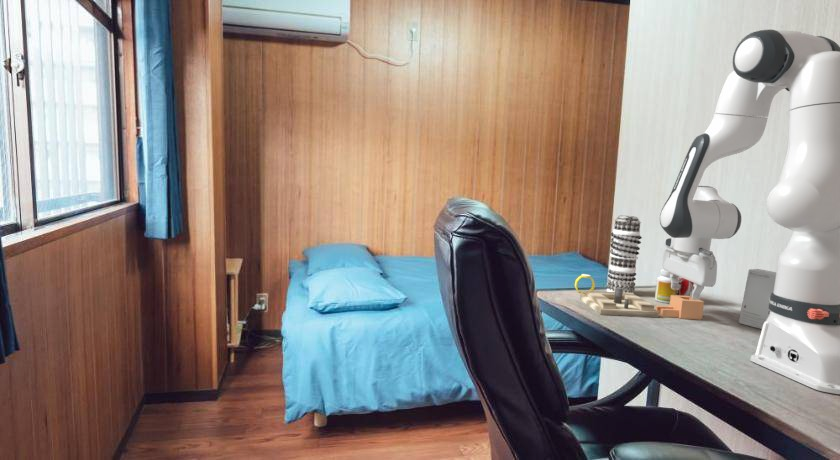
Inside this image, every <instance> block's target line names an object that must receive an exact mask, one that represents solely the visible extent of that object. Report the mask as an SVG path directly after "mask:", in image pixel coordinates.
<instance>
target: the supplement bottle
mask: <svg viewBox="0 0 840 460" xmlns="http://www.w3.org/2000/svg"><path fill="white" fill-rule="evenodd" d="M659 274H660V275H659V276H657V278H656V285H655V293H654V300H655V301H657V302H658V303H662V302H663V304H670V298H671V295H675V290H673V289H671V279H670V272H668V271H665V270H664V269H663V268H661V269H660V273H659Z"/></svg>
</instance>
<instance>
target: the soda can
mask: <svg viewBox="0 0 840 460" xmlns="http://www.w3.org/2000/svg"><path fill="white" fill-rule="evenodd" d="M678 281H679V284H680V287H679V288H680V289H679V290H675V295H680V296H690V292H692V291H693V289H694V286H693V285H694V283H693V282H691V281H689V280H686V279H684V278H682V277H678Z"/></svg>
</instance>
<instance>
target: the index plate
mask: <svg viewBox="0 0 840 460" xmlns="http://www.w3.org/2000/svg"><path fill="white" fill-rule="evenodd" d="M584 292H585V293H584V294H583V293H579V294H580V295H579V300H580V301H581V302H582V303H584V304H585V305H587V306H588V307H589V308H591V309H592V310H594V312H596V313H597V314H599V315H600V316H601V315H602V316H618V315H621V316H622V317H638V316H641V317H642V318H659V316H660V314H659V312H658V311H656V310H655V305H654V304H653V303H651V302H648V301H647V300H645V299H643V298H641V297H640V296H639V295H636V294H635V293H634V294H632V293H624V292H623V289H620V288H615V292H607V291H605V290H603V291H602V290H601V291H599V290H593V291H589V290H584ZM621 316H620V317H621ZM641 317H640V318H641Z"/></svg>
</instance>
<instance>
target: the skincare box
mask: <svg viewBox="0 0 840 460" xmlns="http://www.w3.org/2000/svg"><path fill="white" fill-rule="evenodd" d="M776 272H777V271H771V270H765V269H761V268H760V269H759V268H753V269H752V268H751V269H748V272H747V277H746V281H745V282H746V283H745V288H744V293H743V297H742V303H741V308H740V312H739V319H738V323H739V324H741V325H745V326H749V327H753V328H756V329H760V330H762V327H763V324H764V322H765V321H766V320H767V318H768V316H769V314H770V309H769V298H770V296H771V293H773V292H774V285H775V279H776Z"/></svg>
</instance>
